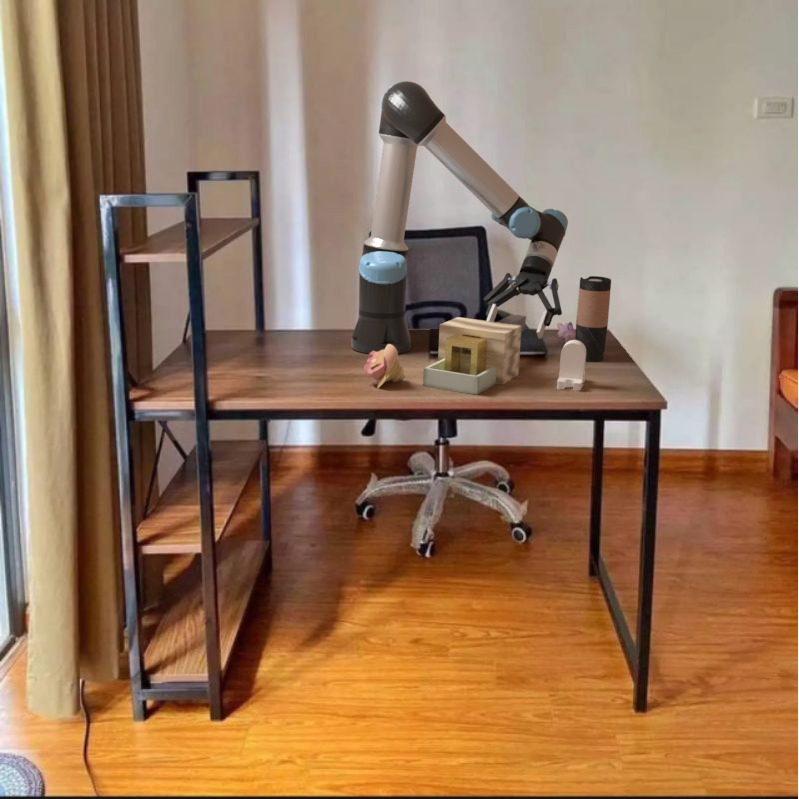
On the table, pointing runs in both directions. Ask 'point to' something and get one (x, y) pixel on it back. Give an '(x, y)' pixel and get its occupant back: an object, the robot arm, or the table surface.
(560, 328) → the rabbit figure
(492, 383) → the tray
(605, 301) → the travel mug
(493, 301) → the robot arm
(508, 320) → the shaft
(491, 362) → the light wood block
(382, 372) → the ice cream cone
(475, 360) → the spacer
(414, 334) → the table surface
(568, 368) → the white phone stand
